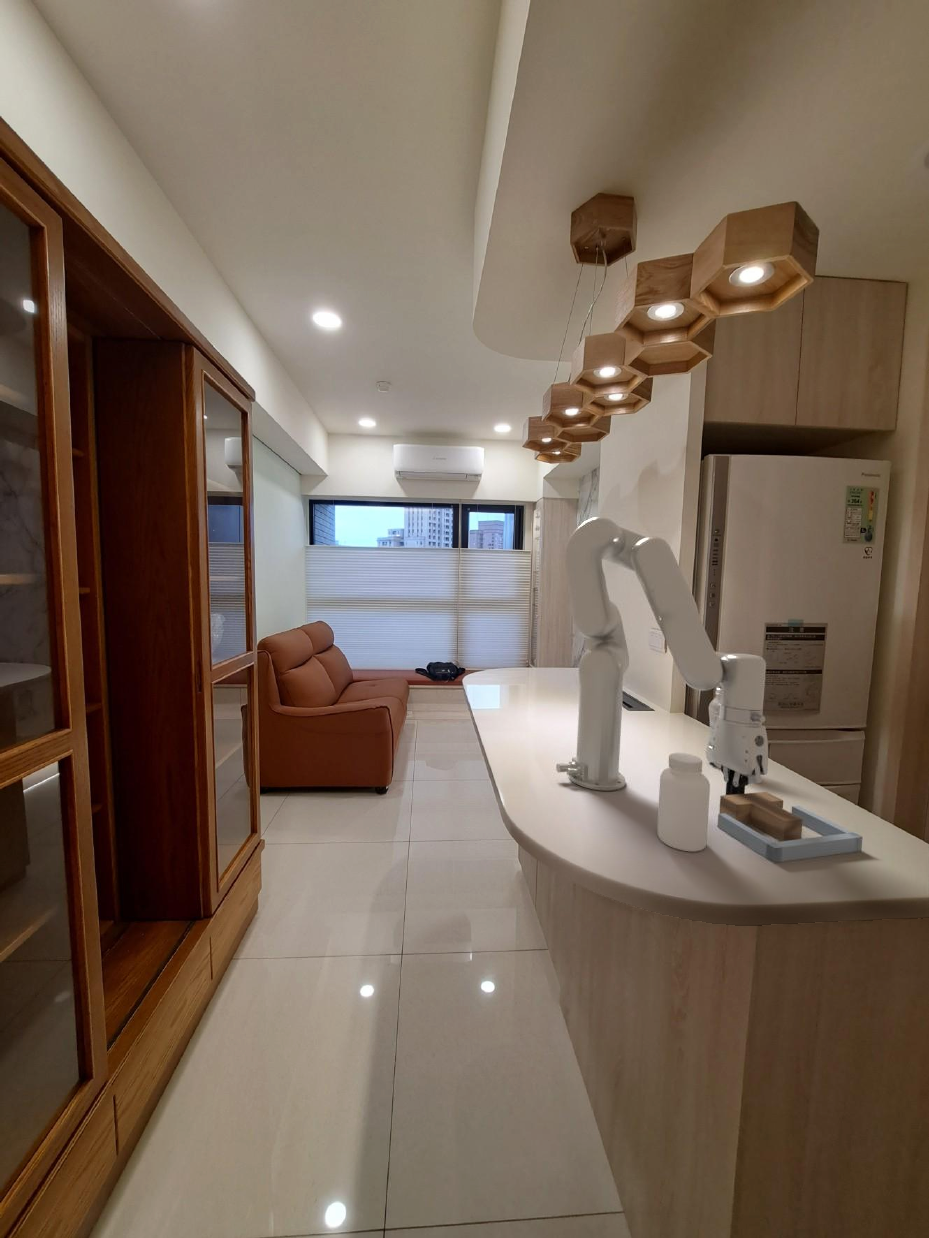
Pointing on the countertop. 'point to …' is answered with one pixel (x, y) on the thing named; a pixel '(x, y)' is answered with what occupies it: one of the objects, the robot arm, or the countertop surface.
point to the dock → (829, 844)
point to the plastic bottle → (713, 722)
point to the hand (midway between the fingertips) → (734, 802)
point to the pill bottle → (683, 803)
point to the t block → (763, 814)
